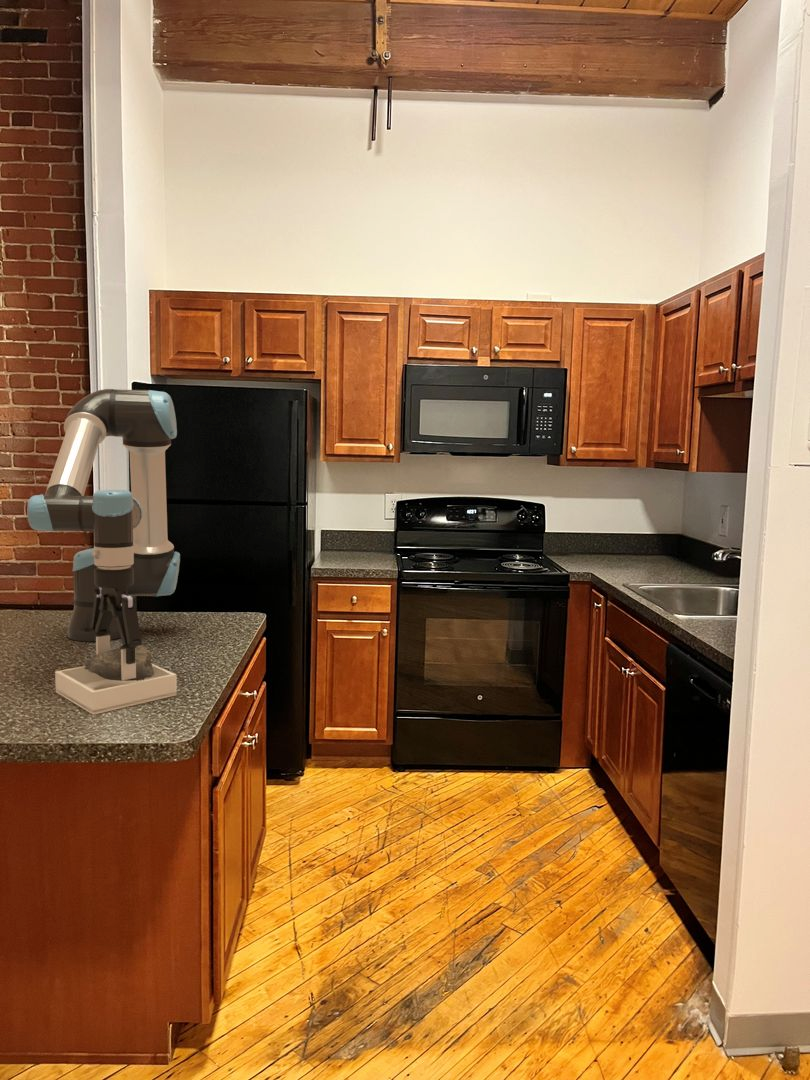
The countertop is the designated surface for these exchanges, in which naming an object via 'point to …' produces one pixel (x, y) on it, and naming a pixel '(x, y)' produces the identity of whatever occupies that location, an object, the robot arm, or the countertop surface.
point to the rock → (111, 664)
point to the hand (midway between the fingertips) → (115, 672)
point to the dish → (112, 689)
